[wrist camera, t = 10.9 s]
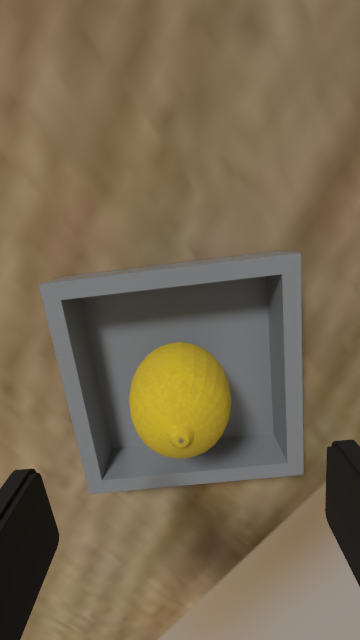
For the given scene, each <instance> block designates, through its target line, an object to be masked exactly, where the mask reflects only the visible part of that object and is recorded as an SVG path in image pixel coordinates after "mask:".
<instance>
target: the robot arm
mask: <svg viewBox="0 0 360 640" xmlns="http://www.w3.org/2000/svg"><path fill="white" fill-rule="evenodd" d="M325 511H326V518H327V521H328V523H329V526H330V528H331V530H332V532H333V534H334V536H335V538H336V540H337V542H338V544H339V546H340V548H341V550H342V552H343V554H344V556H345V558H346V560H347V561H348V564H349V566H350V568H351V570H352V572H353V574H354V576H355V578H356V580H357V582H358V584H359V586H360V447H359V445H358V444H357V443H356V442H355V441H354V440H342V441H334V442H333V443H332V447H328V448H327V471H326V509H325ZM58 542H59V532H58V529H57V525H56V522H55V519H54V516H53V513H52V509H51V506H50V503H49V500H48V497H47V493H46V490H45V487H44V484H43V481H42V477H41V475H40V474H39V473H36V471H35V470H34V469H23V470H15V471H13V473H12V474H11V475H10V476H9V478H8V479H7V480H6V482H5V483H4V485H3V486H2V487H1V489H0V640H20V639H21V636H22V634H23V631H24V629H25V626H26V624H27V621H28V619H29V616H30V614H31V611H32V609H33V606H34V604H35V601H36V599H37V596H38V594H39V591H40V589H41V586H42V584H43V581H44V579H45V576H46V574H47V571H48V569H49V566H50V564H51V561H52V559H53V556H54V554H55V551H56V549H57V546H58Z"/></svg>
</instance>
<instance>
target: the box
mask: <svg viewBox="0 0 360 640" xmlns="http://www.w3.org/2000/svg"><path fill="white" fill-rule="evenodd" d="M39 288H40V292H41V296H42V300H43V304H44V308H45V312H46V317H47V321H48V325H49V329H50V333H51V337H52V341H53V345H54V349H55V354H56V358H57V362H58V366H59V370H60V374H61V378H62V382H63V386H64V391H65V395H66V399H67V403H68V407H69V411H70V415H71V419H72V423H73V428H74V432H75V436H76V440H77V444H78V448H79V452H80V456H81V460H82V464H83V469H84V473H85V477H86V481H87V485H88V489H89V493H90V494H96V493H107V492H118V491H129V490H140V489H151V488H162V487H173V486H184V485H195V484H206V483H217V482H228V481H239V480H250V479H261V478H272V477H283V476H294V475H304V470H303V387H302V304H301V253H298V252H288V251H273V252H264V253H256V254H248V255H239V256H231V257H223V258H214V259H206V260H198V261H189V262H181V263H173V264H164V265H156V266H148V267H139V268H131V269H123V270H114V271H106V272H98V273H89V274H81V275H73V276H64V277H61V278H57V279H54V280H51V281H47V282H44V283H41V284H39ZM176 342H184V343H192V344H194V345H197V346H199V347H202V348H203V349H205V350H206V351H208V352H209V353H210V354H212V355H213V356H214V357H215V359H216V360H217V361H218V362H219V363H220V365H221V366H222V368H223V370H224V372H225V374H226V377H227V379H228V382H229V387H230V393H231V408H230V416H229V421H228V423H227V426H226V428H225V430H224V432H223V435H222V436H221V437H220V439H219V440H218V441H217V442H216V444H215V445H214V446H212V447H211V448H210V449H208V450H207V451H206V452H204V453H202V454H200V455H197V456H194V457H190V458H185V459H175V458H171V457H166V456H163V455H161V454H159V453H157V452H155V451H153V450H152V449H151V448H149V447H148V446H147V445H146V444H145V443H144V442H143V441H142V439H141V438H140V437H139V435H138V434H137V432H136V429H135V427H134V424H133V422H132V419H131V414H130V405H129V393H130V388H131V383H132V379H133V376H134V374H135V372H136V370H137V368H138V366H139V365H140V363H141V362H142V361H143V360H144V359H145V358H146V356H147V355H148V354H149V353H151V352H152V351H154V350H155V349H157V348H158V347H160V346H163V345H166V344H169V343H176Z"/></svg>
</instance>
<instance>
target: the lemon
mask: <svg viewBox="0 0 360 640" xmlns="http://www.w3.org/2000/svg"><path fill="white" fill-rule="evenodd" d="M129 405H130V414H131V419H132V422H133V424H134V427H135V429H136V432H137V434H138V435H139V437H140V438H141V439H142V441H143V442H144V443H145V444H146V445H147V446H148V447H149V448H151V449H152V450H153V451H155V452H157V453H159V454H161V455H163V456H166V457H171V458H175V459H185V458H190V457H194V456H197V455H200V454H202V453H204V452H206V451H207V450H208V449H210V448H211V447H212V446H214V445H215V444H216V442H217V441H218V440H219V439H220V437H221V436H222V435H223V432H224V430H225V428H226V426H227V423H228V421H229V416H230V408H231V393H230V387H229V382H228V379H227V377H226V374H225V372H224V370H223V368H222V366H221V365H220V363H219V362H218V361H217V360H216V359H215V357H214V356H213V355H212V354H210V353H209V352H208V351H206V350H205V349H203V348H202V347H199V346H197V345H194V344H192V343H184V342H176V343H169V344H166V345H163V346H160V347H158V348H157V349H155V350H154V351H152V352H151V353H149V354H148V355H147V356H146V358H145V359H144V360H143V361H142V362H141V363H140V365H139V366H138V368H137V370H136V372H135V374H134V376H133V379H132V383H131V388H130V393H129Z"/></svg>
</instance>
